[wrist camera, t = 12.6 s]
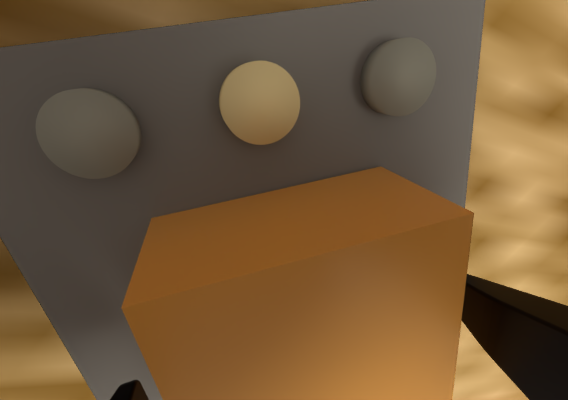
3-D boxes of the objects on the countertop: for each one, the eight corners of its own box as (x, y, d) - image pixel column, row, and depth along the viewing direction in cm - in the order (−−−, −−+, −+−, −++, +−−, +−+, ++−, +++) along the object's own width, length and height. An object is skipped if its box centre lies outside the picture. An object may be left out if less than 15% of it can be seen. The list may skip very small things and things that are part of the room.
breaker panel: (128, 370, 13) (110, 448, 10) (-25, 65, 8) (-133, 59, 6) (417, 277, 16) (465, 321, 13) (426, 4, 11) (505, -21, 8)
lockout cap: (210, 386, 11) (214, 515, 8) (151, 218, 9) (121, 307, 5) (383, 330, 13) (449, 421, 9) (380, 166, 10) (473, 212, 6)
